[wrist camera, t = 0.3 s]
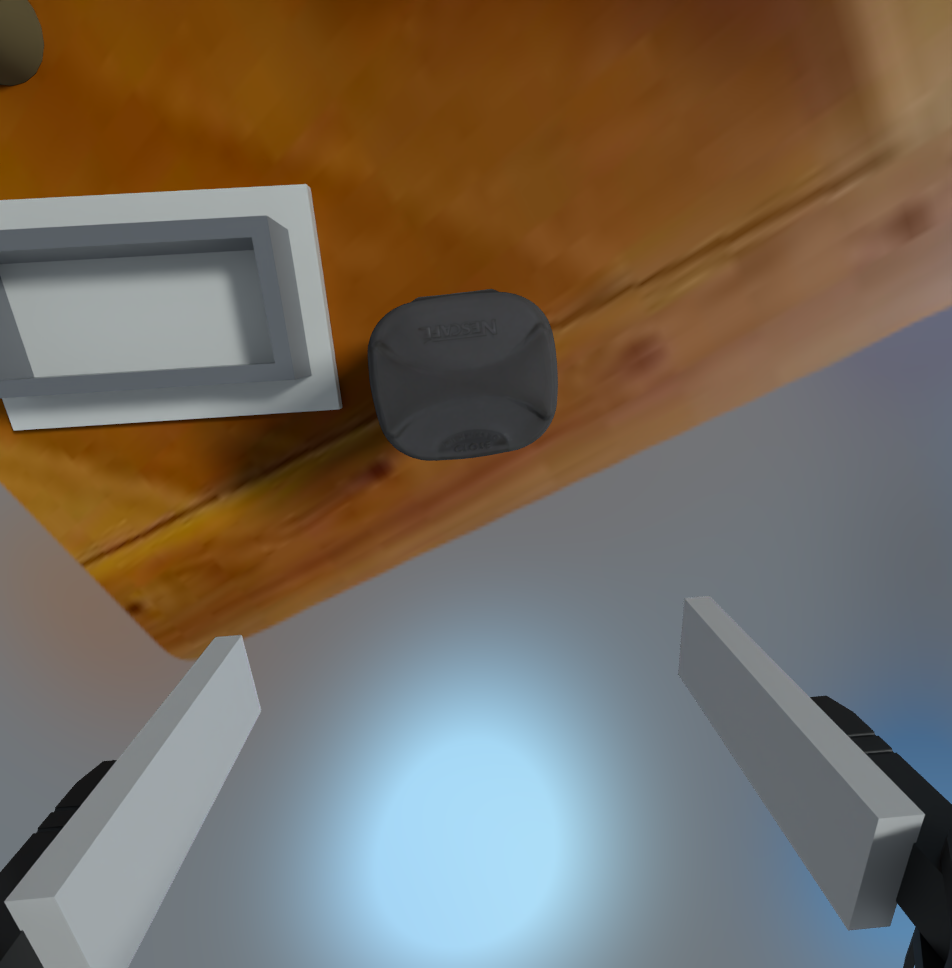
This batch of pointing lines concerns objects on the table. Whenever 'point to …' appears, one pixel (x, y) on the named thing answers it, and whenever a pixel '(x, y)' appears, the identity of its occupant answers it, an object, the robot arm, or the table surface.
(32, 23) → the cork
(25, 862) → the robot arm
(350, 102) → the table surface
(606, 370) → the table surface
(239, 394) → the slot well
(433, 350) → the coffee jar
